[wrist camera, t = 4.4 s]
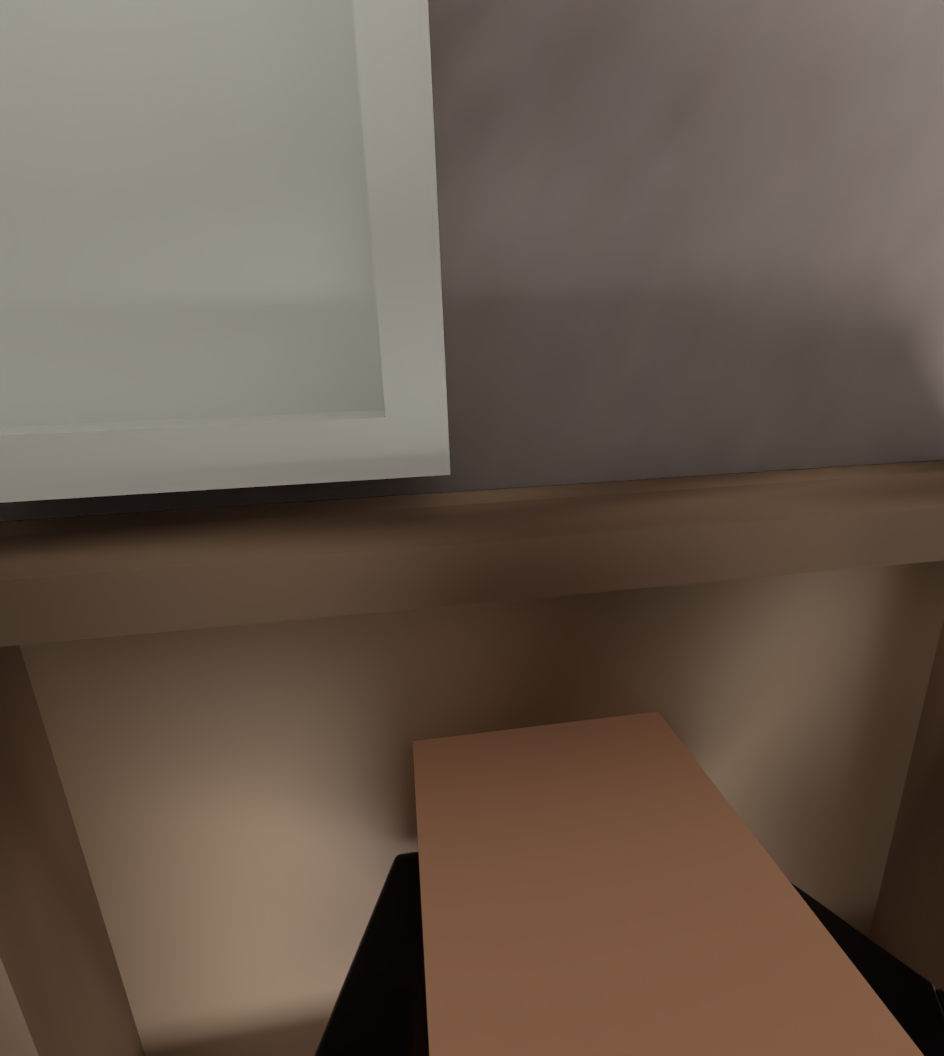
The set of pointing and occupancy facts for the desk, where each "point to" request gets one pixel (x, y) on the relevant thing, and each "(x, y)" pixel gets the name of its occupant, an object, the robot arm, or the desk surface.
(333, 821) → the walnut box
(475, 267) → the desk surface
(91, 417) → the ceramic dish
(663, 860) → the terracotta block
